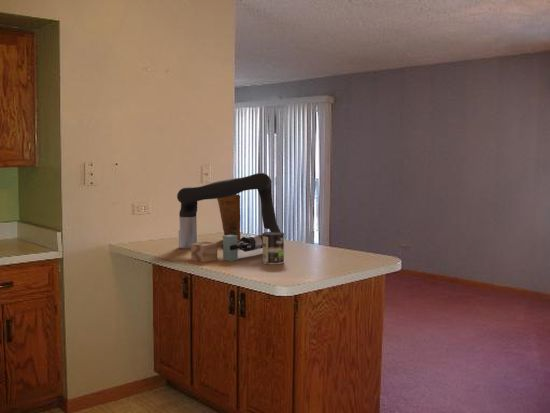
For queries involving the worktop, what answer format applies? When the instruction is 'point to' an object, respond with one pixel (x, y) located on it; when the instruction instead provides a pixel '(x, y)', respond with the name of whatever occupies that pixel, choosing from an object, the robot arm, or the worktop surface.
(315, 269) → the worktop surface
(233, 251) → the post
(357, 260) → the worktop surface
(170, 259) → the worktop surface
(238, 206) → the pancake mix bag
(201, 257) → the block
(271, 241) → the coffee can
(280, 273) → the worktop surface
